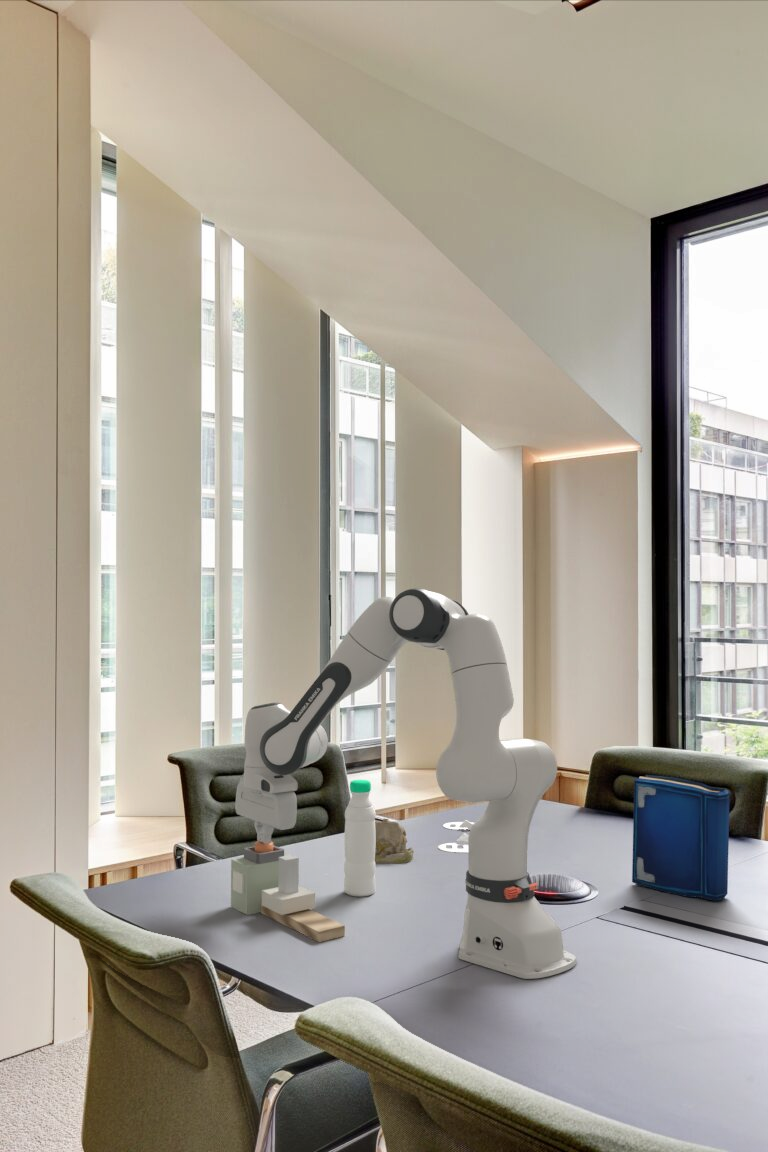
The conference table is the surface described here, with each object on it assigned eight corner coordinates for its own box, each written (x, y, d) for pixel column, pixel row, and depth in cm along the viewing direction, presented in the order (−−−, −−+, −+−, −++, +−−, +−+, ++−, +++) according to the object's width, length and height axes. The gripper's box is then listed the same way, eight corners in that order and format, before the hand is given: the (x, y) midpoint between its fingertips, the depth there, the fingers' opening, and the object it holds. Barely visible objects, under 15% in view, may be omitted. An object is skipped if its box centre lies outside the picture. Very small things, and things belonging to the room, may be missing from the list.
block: (344, 935, 184) (344, 925, 185) (318, 942, 181) (319, 931, 181) (285, 907, 202) (285, 897, 202) (260, 912, 198) (260, 903, 198)
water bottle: (371, 898, 209) (372, 784, 209) (340, 896, 210) (341, 783, 211) (378, 889, 215) (378, 778, 216) (348, 887, 217) (348, 777, 218)
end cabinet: (295, 904, 204) (296, 848, 205) (245, 915, 197) (245, 857, 197) (279, 896, 210) (279, 841, 210) (229, 906, 202) (229, 850, 203)
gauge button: (276, 857, 203) (276, 843, 203) (260, 860, 201) (260, 846, 201) (267, 853, 206) (267, 839, 207) (251, 856, 204) (251, 842, 204)
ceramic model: (354, 861, 239) (354, 822, 240) (364, 850, 250) (364, 812, 251) (408, 865, 236) (409, 824, 237) (416, 854, 247) (417, 815, 248)
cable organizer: (443, 823, 284) (444, 812, 284) (524, 826, 281) (524, 814, 281) (437, 853, 249) (437, 840, 249) (529, 857, 246) (529, 843, 246)
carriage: (315, 907, 195) (315, 858, 195) (281, 915, 190) (282, 864, 190) (294, 898, 201) (294, 850, 201) (261, 905, 196) (262, 856, 196)
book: (734, 898, 210) (733, 785, 211) (721, 905, 205) (720, 789, 206) (644, 879, 225) (644, 773, 225) (630, 885, 219) (629, 777, 220)
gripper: (228, 772, 211) (227, 835, 210) (276, 786, 194) (275, 854, 194) (253, 770, 214) (252, 831, 214) (302, 783, 198) (301, 850, 198)
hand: (264, 842), depth 204 cm, fingers closed, pressing on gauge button
